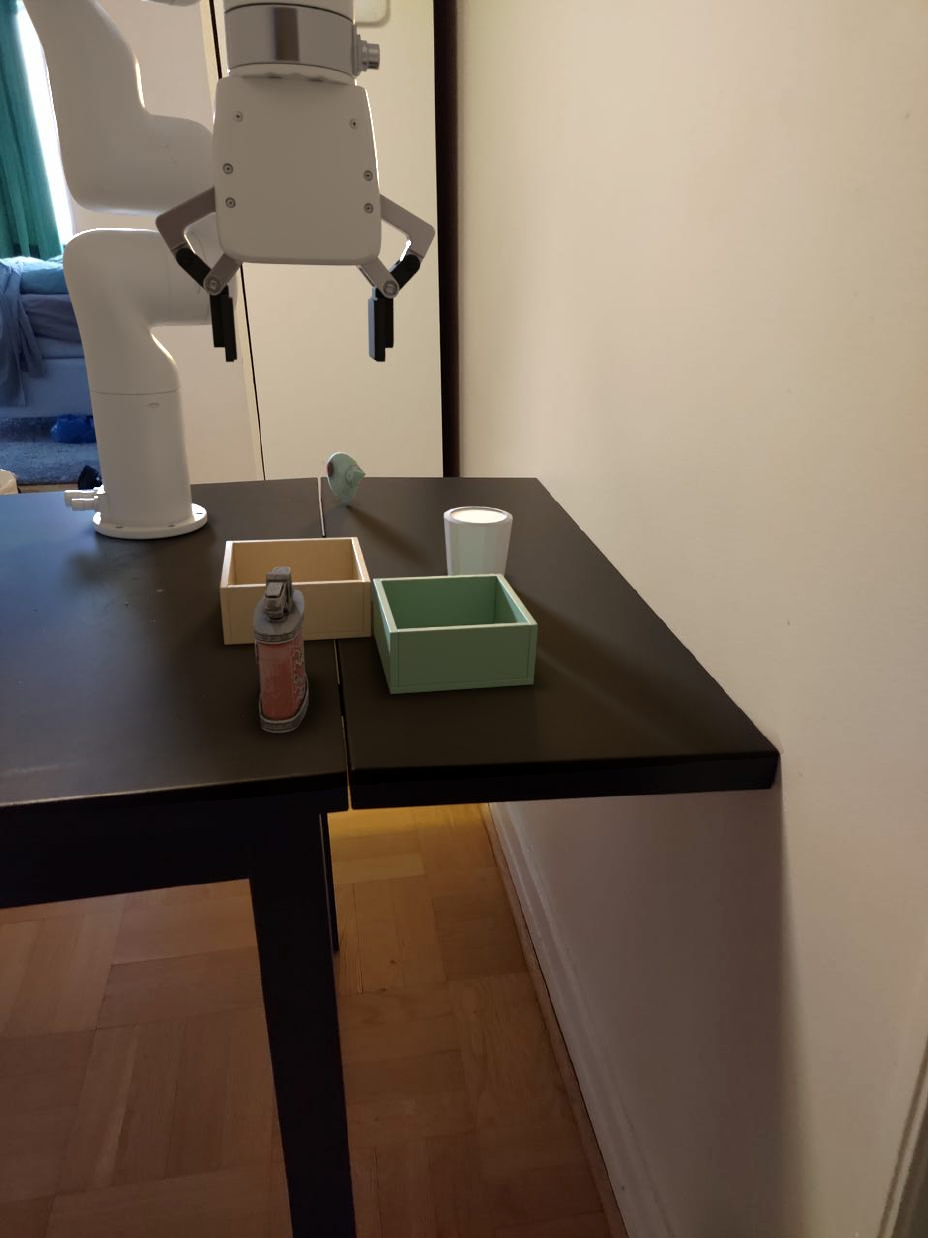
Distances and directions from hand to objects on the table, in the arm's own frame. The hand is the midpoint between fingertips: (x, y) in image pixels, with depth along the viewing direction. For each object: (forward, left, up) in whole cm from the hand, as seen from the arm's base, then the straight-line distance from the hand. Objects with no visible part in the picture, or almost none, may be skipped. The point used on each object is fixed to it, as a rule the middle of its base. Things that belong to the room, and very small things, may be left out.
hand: (305, 359), depth 57 cm
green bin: (+11, +2, -24) cm, 26 cm away
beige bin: (-1, +13, -24) cm, 27 cm away
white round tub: (+17, +19, -24) cm, 35 cm away
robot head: (+6, +49, -24) cm, 54 cm away
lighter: (-3, -4, -24) cm, 24 cm away
